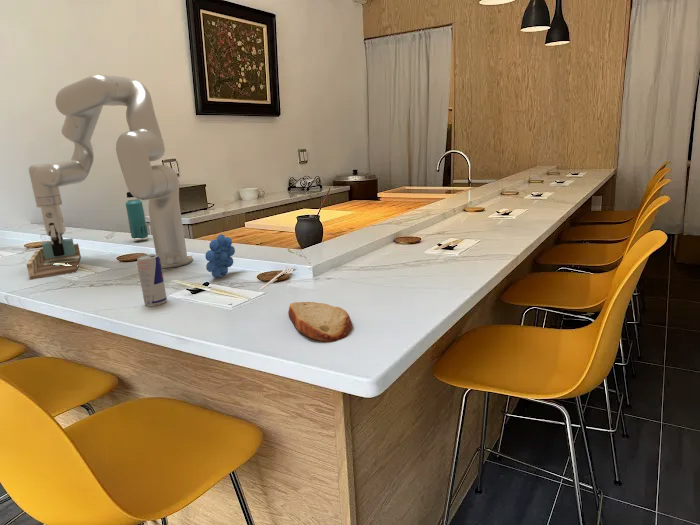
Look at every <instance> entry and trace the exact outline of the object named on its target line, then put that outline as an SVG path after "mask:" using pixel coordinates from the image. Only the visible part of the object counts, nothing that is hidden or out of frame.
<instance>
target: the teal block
mask: <svg viewBox="0 0 700 525" xmlns="http://www.w3.org/2000/svg"><path fill="white" fill-rule="evenodd" d="M61 244H63V248H64V253H65V254H64V255H62V256H69V255H75V248H74V244H75V243H74V239H73V238H72V237H70V238H65V239H64V238H63V240H61ZM41 245H42V248H43V251H44V255H45V259H49V258H56V257H62V256H54V254H53V249H52V243H51V240H48V241H43V242H42V243H41Z"/></svg>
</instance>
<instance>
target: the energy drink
mask: <svg viewBox="0 0 700 525" xmlns="http://www.w3.org/2000/svg"><path fill="white" fill-rule="evenodd" d="M136 263H137V268H138V269H137V271H138V276H139V281H140V287H141V292H142V297H143V304H145V305H146V306H147V305H156V306H159V304H160V305H163V304H165V303H166V302H167V300H168V298H167V291H166V285H165V280H164V275H163V268H161V262H160V258H159V256H158V255H157V254H156V253H151V254H144V255H141V256H139V257H137V261H136Z"/></svg>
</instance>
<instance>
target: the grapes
mask: <svg viewBox="0 0 700 525" xmlns="http://www.w3.org/2000/svg"><path fill="white" fill-rule="evenodd" d="M232 240H233V239H232V238H231V237H229V236H225V235H224V234H218V235H217V237H216V239H212V240H211V241H210V242H209V249H210V250H208V251H206V253H205V259H206V261H207V263H206V271H207V272H209V273H211V276H212V277H213V278H216V279H217V278H219V277H220V276H222V277H223V276H226V275H227V274H228V272H229V268H231V267H232V266H233V264H234V259H233V255H234V254H235V253H236V249H235V247H234V245H232V244H233V241H232Z"/></svg>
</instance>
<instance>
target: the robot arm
mask: <svg viewBox="0 0 700 525" xmlns="http://www.w3.org/2000/svg"><path fill="white" fill-rule="evenodd" d="M55 106H56V109H57V110H58V112H59V113H60V114H61V115H63V116H65V117H64V118H65V119H64V122H63V124H62V127H61V134H62V135H63V137H64V138H65V139H66V140H68V141H70V142H71V143H74V144H73V145H74V148H73V150H74V151H73V154H72V156H71V158H70V160H69V161H62V162H61V161H60V162H53V163H52V162H51V163H37V164H32V165H30V166H29V167H28V174H29V178H30V183H31V187H32V192H33V195H34V200H35V204H36V208H38V209H39V208H40V210H41V214H42V220H43V223H44V228H45V231H46V235H47V236H48V237H50V241H51V243H52V249H53V254H54V256H62V255H64V254H65V253H64V248H63V244H61V240H63V239H64V238H63V236H64V235H65V233H66V225H65V222H64V217H63V213H62V210H61V207H60V206H62V205H63V201H62V196H61V191H60V187H63V186H68V185H75V184H79V183H82V182H84V181H85V180H86V179H87V177H88V176H89V174H90V172H91V169H92V166H93V163H94V159H95V158H94V156H95V155H94V149H93V145H92V142H91V140H92V137H93V134H94V131H95V129H96V126H97V124H98V122H99V121H98V120H99V119H100V115H101V113H102V110H103V106H124V107H126V110H125V111H126V112H125V119H126V122H127V125H128V131H127V130H126V131H125V132H122V133H121V134H120V135H119V136H118V138H117V140H116V143H115V151H116V156H117V159H118V163H119V167H120V170H121V172H122V175H123V179H124V182H125V185H126V187H127V190H128V192H130V193H131V194H132V195H133V196H134V197H133V198H136V199H138V200H140V201H147V200H148V216H149V223H150V229H151V234H152V240H153V245H154V250H155V254H157V255H158V256H159V258H160V262H161V268H162V269H168V268H176V267H181V266H184V265H188V264H190V263H192V262H193V261H194V260H193V256H192V255H190V256H187V255H188V253H187V245H186V240H185V239H186V238H185V233H184V227H183V226H184V225H183V220H182V213H181V212H182V211H181V205H180V180H179V177H178V174H177V172H176V171H175V169H173V168H172V167H170V166H168V165H163V164H156V165H155V164H154V165H151V162H156V161H158V160H160V159H161V158H163V156H164V155H165V149H166V148H165V143H164V140H163V137H162V132H161V129H160V126H159V125H160V124H159V122H158V119H157V117H156V114H155V109H154V105H153V100H152V96H151V93H150V92H149V90H148V88H147V86H145V85H144V83H142V82H140V81H139V80H136V79H134V78H130V77H125V76H116V75H106V74H93V75H89V76H87V77H84V78H82V79H81V80H78V81H75V82H72V83H71V84H68V85H65V86H64V87H62V88H61V89H59V91H58V92H57V93H56V97H55Z"/></svg>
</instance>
